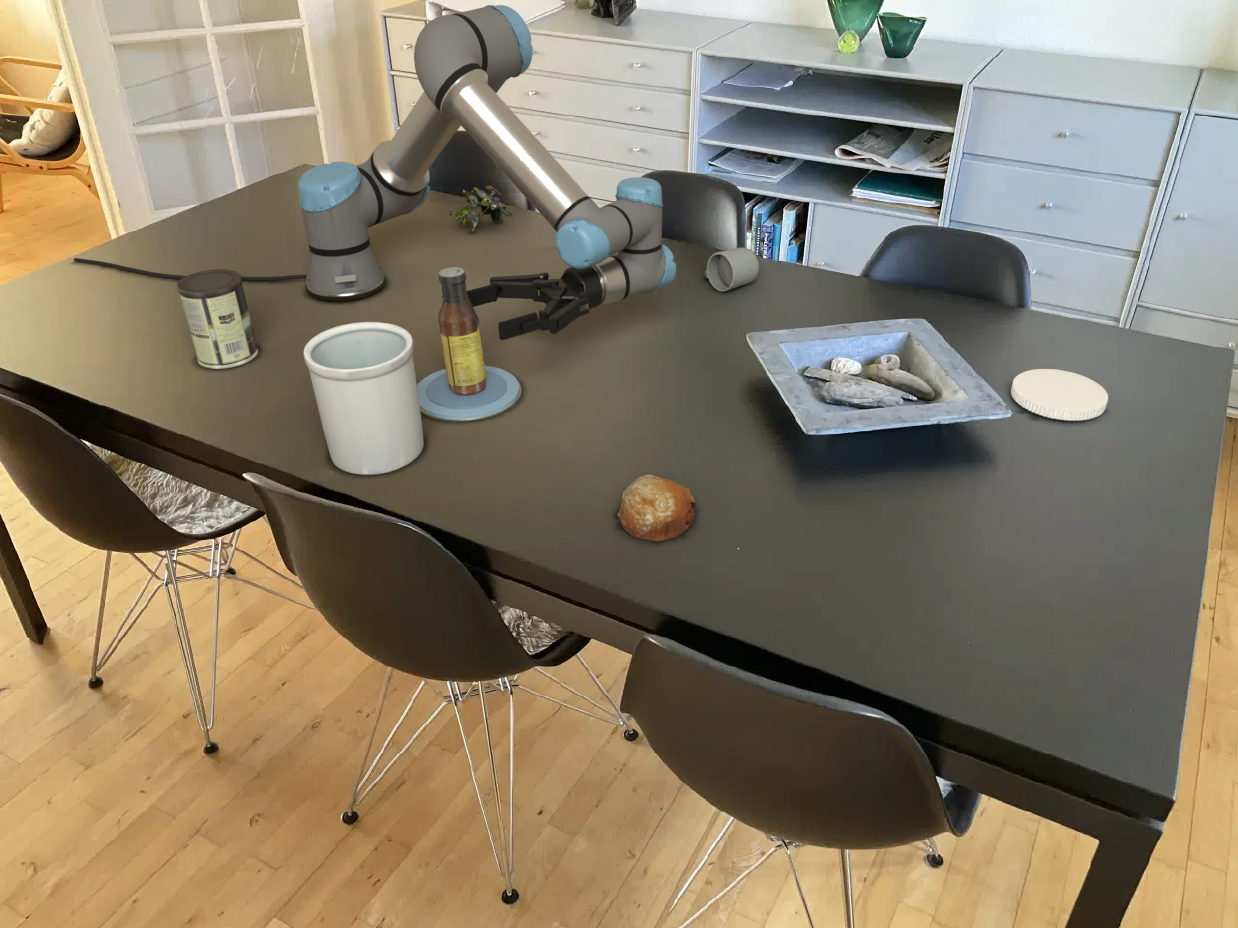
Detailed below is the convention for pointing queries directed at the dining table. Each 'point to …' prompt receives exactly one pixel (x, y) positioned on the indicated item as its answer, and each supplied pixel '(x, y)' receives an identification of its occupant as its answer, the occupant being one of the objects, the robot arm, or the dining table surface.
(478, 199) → the passion flower
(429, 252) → the dining table surface
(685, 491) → the bread roll
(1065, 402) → the plastic lid
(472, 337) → the sauce bottle
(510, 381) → the blue plate
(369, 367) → the utensil holder
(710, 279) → the ceramic mug
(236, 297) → the coffee can
